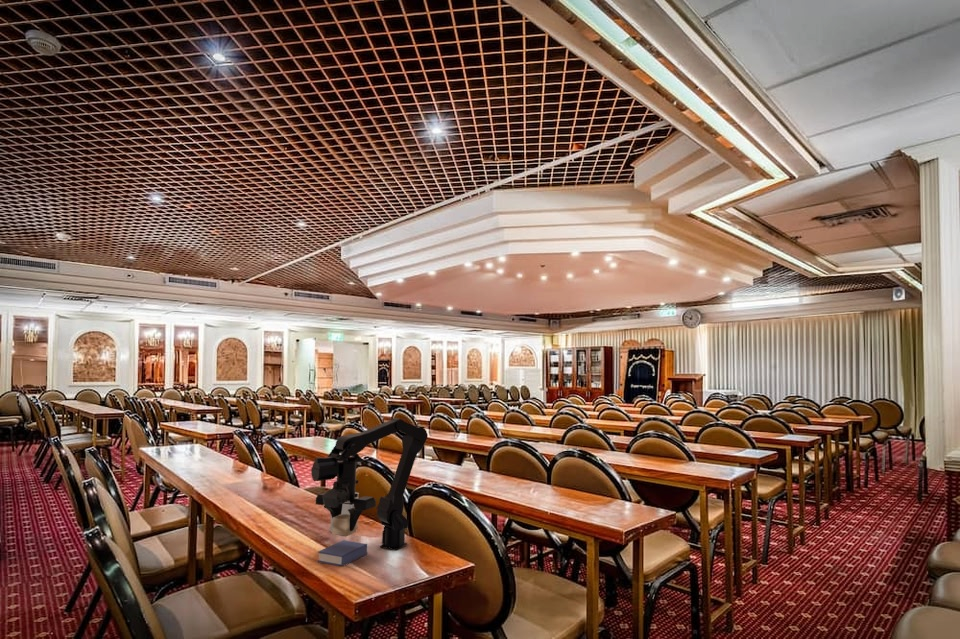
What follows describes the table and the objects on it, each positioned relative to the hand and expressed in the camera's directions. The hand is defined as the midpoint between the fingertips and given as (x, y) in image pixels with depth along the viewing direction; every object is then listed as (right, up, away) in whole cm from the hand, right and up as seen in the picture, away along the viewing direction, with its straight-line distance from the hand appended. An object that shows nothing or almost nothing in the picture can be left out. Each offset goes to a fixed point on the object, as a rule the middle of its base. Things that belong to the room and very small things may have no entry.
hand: (344, 529), depth 157 cm
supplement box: (-7, -12, +28) cm, 31 cm away
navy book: (0, -8, -1) cm, 8 cm away
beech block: (0, -1, 0) cm, 1 cm away
